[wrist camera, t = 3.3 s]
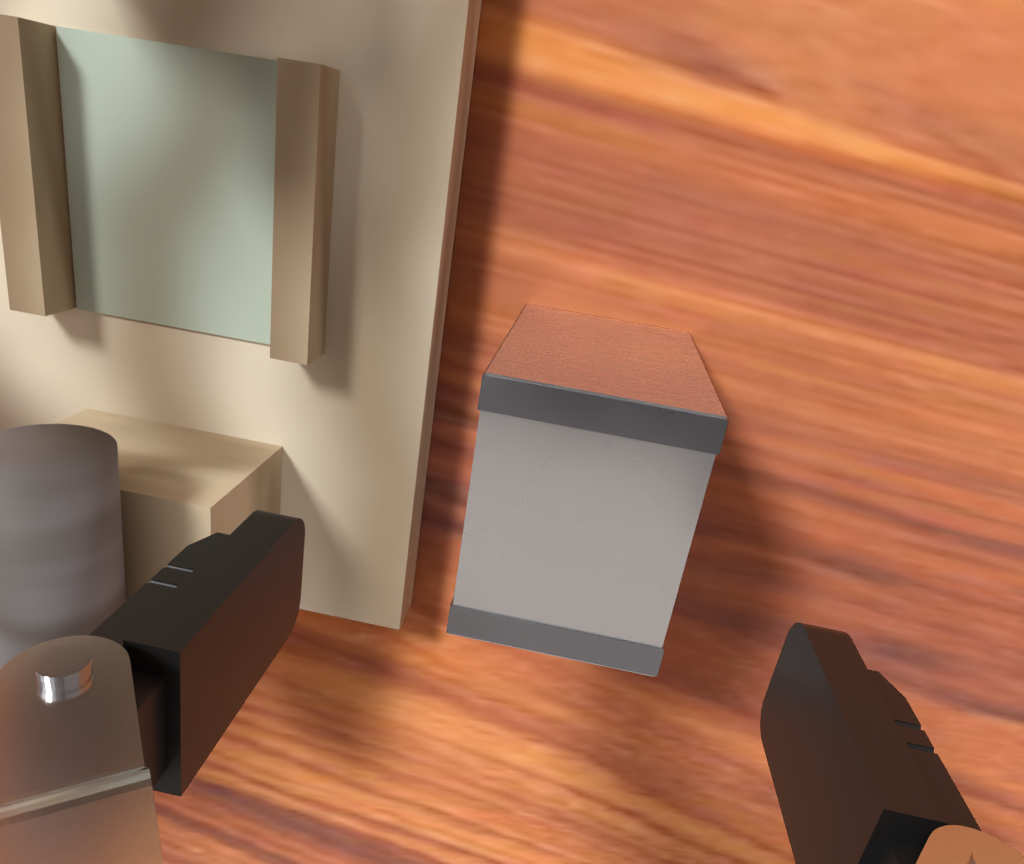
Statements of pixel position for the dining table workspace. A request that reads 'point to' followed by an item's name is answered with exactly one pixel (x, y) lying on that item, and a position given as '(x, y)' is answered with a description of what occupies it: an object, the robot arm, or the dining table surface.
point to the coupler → (585, 488)
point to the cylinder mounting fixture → (221, 289)
